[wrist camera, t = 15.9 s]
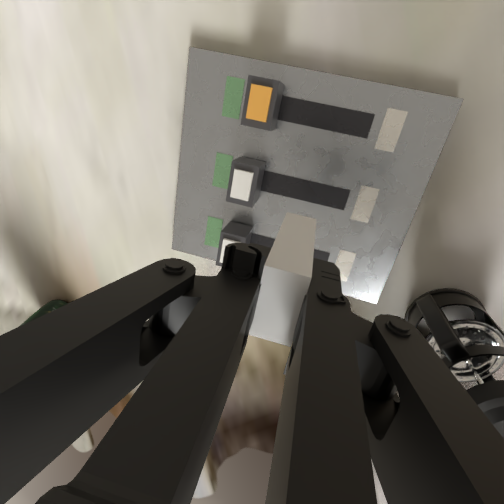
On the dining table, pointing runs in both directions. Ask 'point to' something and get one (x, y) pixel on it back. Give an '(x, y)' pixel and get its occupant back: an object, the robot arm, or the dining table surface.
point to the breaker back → (232, 237)
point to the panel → (309, 162)
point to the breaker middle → (245, 181)
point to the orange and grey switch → (262, 103)
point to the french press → (466, 346)
